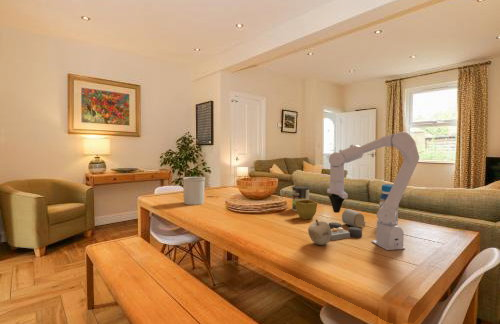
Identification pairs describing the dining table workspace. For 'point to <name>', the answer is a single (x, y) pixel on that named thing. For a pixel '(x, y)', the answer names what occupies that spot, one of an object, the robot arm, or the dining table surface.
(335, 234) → the grey egg carton
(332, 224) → the cord coil
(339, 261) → the dining table surface
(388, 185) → the beverage bottle
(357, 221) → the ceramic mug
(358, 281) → the dining table surface
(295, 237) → the dining table surface
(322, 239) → the decorative object
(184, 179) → the utensil holder
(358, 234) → the cord coil
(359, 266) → the dining table surface
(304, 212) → the flower pot
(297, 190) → the coffee can
